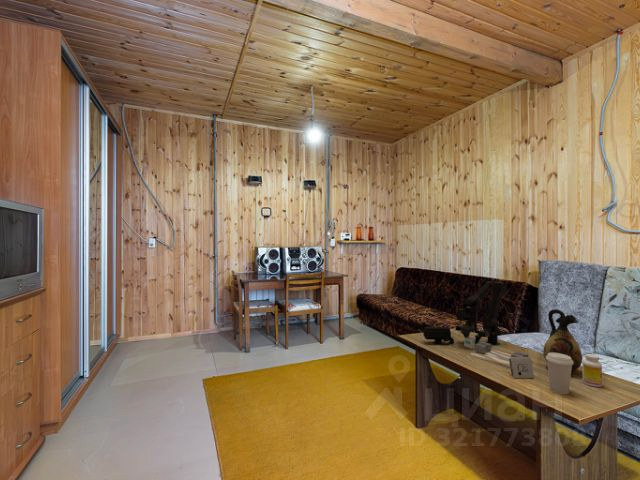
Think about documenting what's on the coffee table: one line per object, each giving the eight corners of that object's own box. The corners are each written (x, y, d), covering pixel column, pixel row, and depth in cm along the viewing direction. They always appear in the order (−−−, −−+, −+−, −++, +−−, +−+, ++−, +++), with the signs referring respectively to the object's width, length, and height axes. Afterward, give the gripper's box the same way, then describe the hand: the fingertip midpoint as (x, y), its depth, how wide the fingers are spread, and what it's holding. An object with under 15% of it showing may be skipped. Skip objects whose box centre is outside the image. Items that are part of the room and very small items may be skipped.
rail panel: (486, 349, 184) (486, 340, 184) (532, 362, 164) (532, 352, 164) (470, 355, 174) (470, 345, 174) (516, 370, 154) (517, 359, 154)
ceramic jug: (588, 373, 152) (588, 312, 152) (574, 379, 144) (574, 315, 144) (548, 361, 166) (548, 305, 167) (533, 367, 158) (534, 308, 159)
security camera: (455, 345, 191) (456, 329, 191) (425, 345, 191) (425, 329, 191) (451, 342, 198) (451, 326, 198) (422, 341, 198) (422, 326, 198)
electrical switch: (514, 378, 145) (513, 358, 146) (507, 375, 150) (506, 355, 151) (534, 379, 145) (533, 358, 146) (527, 375, 150) (526, 355, 151)
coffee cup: (543, 390, 133) (543, 355, 133) (547, 383, 140) (547, 350, 140) (571, 398, 126) (571, 361, 126) (574, 390, 133) (575, 355, 133)
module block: (472, 344, 194) (472, 336, 194) (479, 346, 189) (479, 338, 189) (463, 346, 190) (464, 338, 190) (471, 348, 185) (471, 340, 185)
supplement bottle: (603, 389, 135) (603, 359, 135) (583, 385, 138) (583, 356, 139) (599, 383, 141) (600, 354, 141) (581, 379, 144) (581, 352, 144)
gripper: (450, 317, 193) (450, 342, 193) (480, 324, 177) (480, 351, 177) (460, 315, 199) (460, 339, 199) (490, 321, 184) (489, 348, 184)
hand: (471, 344), depth 190 cm, fingers closed on module block, 5 cm apart
